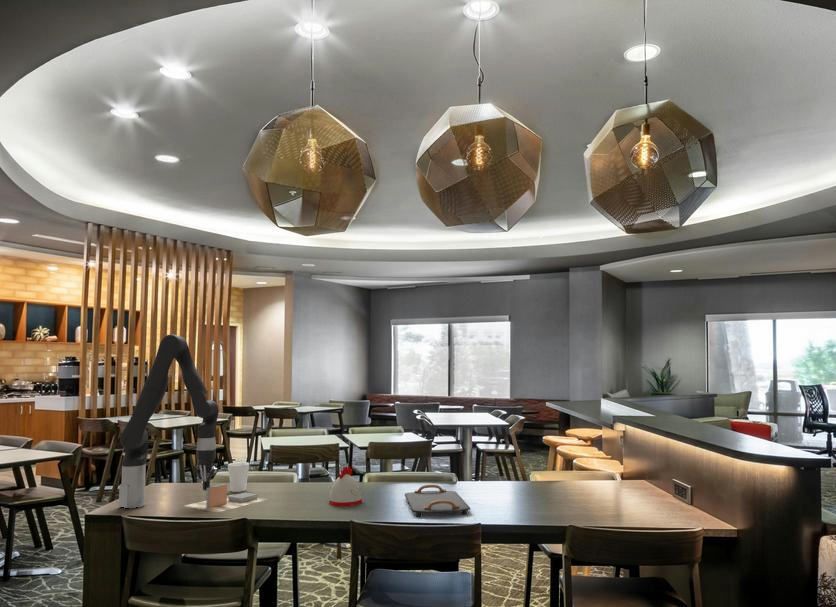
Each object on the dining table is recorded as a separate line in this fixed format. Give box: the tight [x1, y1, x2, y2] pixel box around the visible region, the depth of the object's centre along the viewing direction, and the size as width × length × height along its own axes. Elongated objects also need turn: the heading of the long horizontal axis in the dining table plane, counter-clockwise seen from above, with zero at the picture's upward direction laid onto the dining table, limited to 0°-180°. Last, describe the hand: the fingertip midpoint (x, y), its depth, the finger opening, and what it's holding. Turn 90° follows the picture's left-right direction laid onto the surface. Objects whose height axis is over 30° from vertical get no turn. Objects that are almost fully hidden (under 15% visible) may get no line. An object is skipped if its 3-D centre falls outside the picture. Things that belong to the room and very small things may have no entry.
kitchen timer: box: [328, 466, 363, 507], centre depth 273 cm, size 14×14×15 cm
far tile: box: [227, 492, 258, 503], centre depth 275 cm, size 9×2×8 cm
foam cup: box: [227, 461, 250, 493], centre depth 297 cm, size 10×9×13 cm
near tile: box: [205, 483, 228, 508], centre depth 265 cm, size 9×2×8 cm, turn 146°
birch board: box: [184, 493, 269, 513], centre depth 271 cm, size 27×22×1 cm
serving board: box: [404, 484, 471, 518], centre depth 263 cm, size 39×23×6 cm, turn 7°
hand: (206, 490), depth 270 cm, fingers closed
